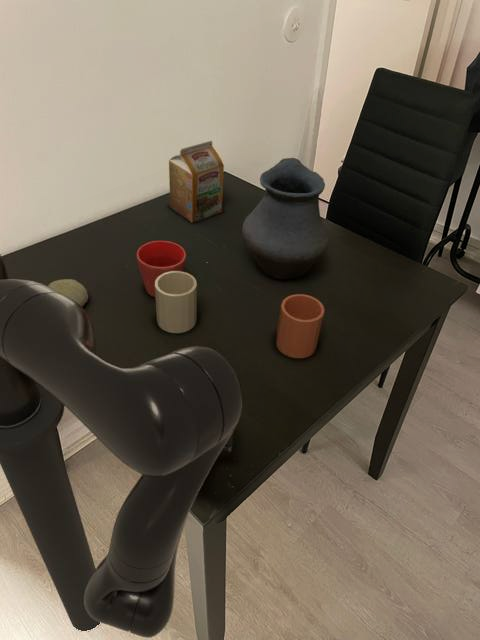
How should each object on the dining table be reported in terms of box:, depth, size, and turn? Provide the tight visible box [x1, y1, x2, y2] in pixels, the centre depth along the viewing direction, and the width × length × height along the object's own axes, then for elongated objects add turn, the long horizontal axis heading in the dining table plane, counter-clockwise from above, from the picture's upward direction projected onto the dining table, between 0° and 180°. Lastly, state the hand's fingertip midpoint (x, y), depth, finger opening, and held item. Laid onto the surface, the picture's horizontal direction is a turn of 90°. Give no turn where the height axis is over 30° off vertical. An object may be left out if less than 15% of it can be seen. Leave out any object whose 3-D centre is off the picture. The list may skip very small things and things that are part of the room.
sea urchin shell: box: [47, 278, 89, 308], centre depth 109 cm, size 9×8×8 cm
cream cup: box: [155, 271, 198, 334], centre depth 105 cm, size 8×8×10 cm
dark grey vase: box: [241, 157, 330, 280], centre depth 118 cm, size 21×22×25 cm
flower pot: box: [136, 240, 187, 298], centre depth 113 cm, size 11×11×10 cm
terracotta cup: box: [275, 293, 325, 359], centre depth 102 cm, size 8×8×10 cm
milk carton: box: [168, 140, 225, 224], centre depth 139 cm, size 10×11×19 cm
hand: (206, 391), depth 85 cm, fingers closed on beer can, 5 cm apart
